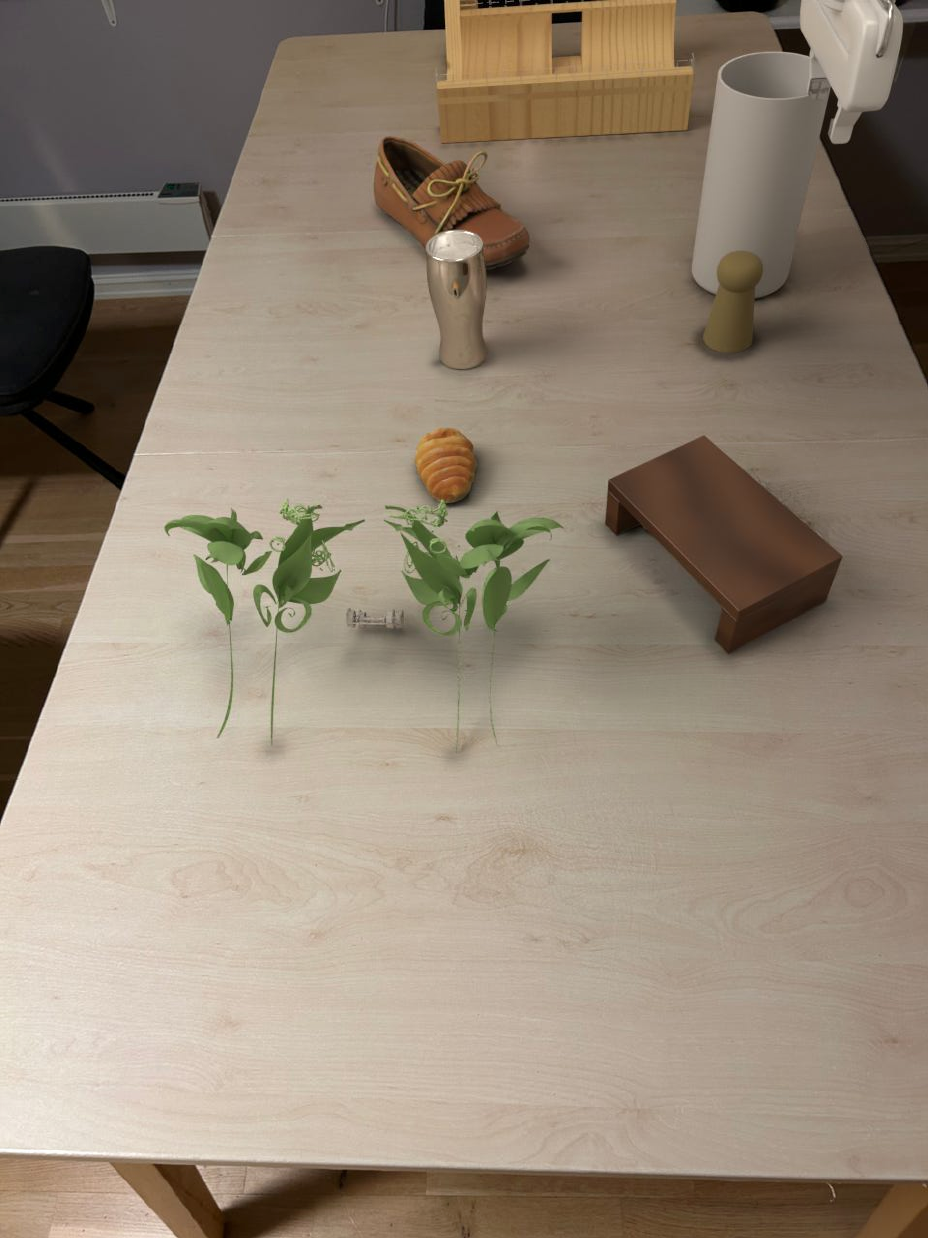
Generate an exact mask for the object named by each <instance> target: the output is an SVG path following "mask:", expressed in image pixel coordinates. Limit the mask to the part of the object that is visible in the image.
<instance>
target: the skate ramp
mask: <svg viewBox="0 0 928 1238" xmlns="http://www.w3.org/2000/svg"><path fill="white" fill-rule="evenodd" d="M443 1H444V20H445V21H444V23H445V24H444V25H445V27H444V28H445V46H446V47H445V51H446V74H441V76H446V80H439V79H438V75H437V74H434V75H435V84H436V99H437V109H438V110H437V111H438V120H439V121H438V122H439V131H440V141H441V144H452V143H453V144H454V143H470V142H471V143H473V142H492V141H493V142H494V141H509V140H511V141H512V140H527V139H529V140H531V139H545V138H563V137H564V138H565V137H566V138H567V137H583V136H584V137H585V136H603V135H620V134H624V135H625V134H638V133H639V134H641V133H642V134H643V133H659V132H675V131H676V132H677V131H679V132H680V131H688V126H689V119H690V110H691V103H692V94H693V88H694V79H695V72H694V69H695V65H693V64H694V63H695V60H696V59H693V60H690V63H691V64H690V65H689V66H686V65H685V66H679V64H676V66H675V52H674V51H675V50H674V49H675V48H674V47H675V46H674V45H675V23H676V21H675V20H676V10H677V3H678V2H677V1H678V0H591V1H578V2H577V1H575V2H562V3H553V0H551V3H546V4H545V3H543V4H531V5H530V4H529V5H514V6H501V7H500V6H497V7H485V8H484V7H483V8H479V4H482V2H478V0H443ZM525 1H529V0H520V3H523V2H525ZM488 2H490V4H494V3H498V1H497V2H496V1H493V2H492V1H491V0H488ZM509 2H513V0H510V1H507V0H506V3H509ZM574 12H581V34H580V35H581V36H580V55H570V56H552V55H553V52H552V51H553V50H552V49H553V45H552V42H553V41H552V36H553V35H552V31H553V27H552V25H553V24H552V22H553V21H552V20H553V15H552V14H560V13H561V14H562V13H574ZM691 56H692V58H695V56H694V53H693V52H692V53H691ZM683 61H685V62H686V61H687V59H681V60H678V62H683ZM435 72H438V69H437V67H436V68H435Z"/></svg>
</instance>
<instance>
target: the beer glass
mask: <svg viewBox="0 0 928 1238" xmlns="http://www.w3.org/2000/svg"><path fill="white" fill-rule="evenodd" d="M425 251H426V252H425V253H426V279H427V286H428V292H429V297H430V301H431V305H432V309H433V311H434V314H435V317H436V321H437V324H438V328H439V334H440V338H439V340H440V341H439V348H438V349H439V350H438V355H439V356H438V357H439V360H440V362H441V363H442V364H443V365H444V366H445V367H448V368H451V369H454V370H468V369H473V368H476V367H478V366H479V365H481V364H482V363H483V362H484V361H485V360H486V358H487V356H488V348H487V345H486V342H485V338H484V332H483V331H484V330H483V324H484V315H485V307H486V300H487V291H488V290H487V289H488V288H487V286H488V283H487V282H488V280H487V277H488V275H487V269H486V264H485V256H484V250H483V241H482V239H481V238H480V237H479V236H478V235H477V234H475V233H473V232H470V231H466V230H450V231H445V232H442V233H439V234H437V235H435V236H433V237H432V238H431V239H430V240H429V241H428V242H427V244H426V249H425Z"/></svg>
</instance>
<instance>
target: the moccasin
mask: <svg viewBox="0 0 928 1238" xmlns="http://www.w3.org/2000/svg"><path fill="white" fill-rule="evenodd" d="M480 156H483V158H482V160H481V162H480V164H479V165H478V166H477V167H476V168H475V167H473V168H472V165H473V163H474V162H475V160H476V159H477V158H478V157H480ZM487 159H488V153H487V151H486V150H479V151H478V152H476V153H475V154H474V155H473V156H472V158H471V159H470V160H469V162H468V164H467V163H466V162H464V161H463V160H459V159H457V160H452V161H450V162H448V163H445V162H443V161H442V160H441V159H439V158H438V157H436V156H435V155H433V154H432V153H431V152H430V151H428V150H426V149H424V148H423V147H422V146H420V145H418V144H417V142H414V141H411V140H409V139H406V138H402V137H396V136H389V135H388V136H385V137H383V138H382V139H381V141H380V143H379V144H378V149H377V157H376V163H375V169H374V179H373V193H374V194H373V195H374V201H375V202H374V203H375V205H376V206H377V208H379V209H380V211H382V212H384V213H385V214H386V215H388V216H389V217H391V218H392V220H395V222H397V223H398V224H400V225H401V226H402V227H403V228H404V229H405V230H406V231H408V232H409V233H410V234H411V235H412V236H413V237H414V238H416V240H417V241H418V242H419V243H420V244H421V246H422V247H423V248H424V250H426V244H427V242H428V241H429V240H430V239H431V238H432V237H433V236H435V235H437V234H439V233H442V232H445V231H450V230H466V231H470V232H473V233H475V234H477V235H478V236H479V237H480V238H481V239H482V241H483V250H484V256H485V264H486V270H493V269H496V268H497V267H503V266H505V265H507V264H510V263H511V262H512V263H513V262H515V261H516V260H518V259H520V258H522V257H524V256H525V255H526V254H527V251H528V250H529V249H530V243H531V237H530V233H529V231H528V229H527V228H526V225H525V224H524V223H522V222H521V221H520V220H518V219H517V218H515V217H514V216H513V215H510V214H509V213H508V212H506V211H504V210H503V209H502V204H501V203H500V202H499V201H498V200H497V199H495V198H493V197H492V196H490V195H488V194H487V193H486V192H485V191H483V189H482V188H481V187H480V185H479V184H478V180H479V179H480V175H479V171H480V170H481V168H483V166H484V165H485V163H486V161H487ZM471 168H472V169H471Z"/></svg>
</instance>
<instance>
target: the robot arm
mask: <svg viewBox="0 0 928 1238" xmlns="http://www.w3.org/2000/svg"><path fill="white" fill-rule="evenodd" d="M896 1H897V0H801V1H800V8H799V9H800V10H799V25H800V26H799V27H800V31H801V33H802V34H803V37H804V38H805V40H806V41H807V42H806V43H807V44H808V46H809V48H810V50H809V57H810V69H809V76H810V77H809V82H808V87H807V94H808V95H809V97H810V99H811V100H824V99H825V98H826V97H827V94H828V89H829V86H830V85H831V88H832V90H833V92H834V94H835V96H836V98H837V111H836V113H835V116H834V118H831V119H830V123H829V128H828V131H827V135H828V138H829V140H830V142H831V143H832V144H833V145H839V144H840V145H842V144H848V142H849V141H850V140H851V137H852V133H853V130H854V126H855V124H856V122H857V121H858V120H859V119H860V117H861V115H862V114H863V113H867V112H875V111H879V110H881V109H883V107H884V106H885V105H886V103H887V101H888V99H889V98H890V97H889V96H890V94H891V89H892V87H893V86H892V84H893V81H894V76H895V72H896V68H897V63H898V59H899V54H900V49H901V44H902V38H903V30H904V20H903V19H904V18H903V15H902V13H901V11H900V10H899V8H898V6H897V5H896V4H895V3H896Z"/></svg>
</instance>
